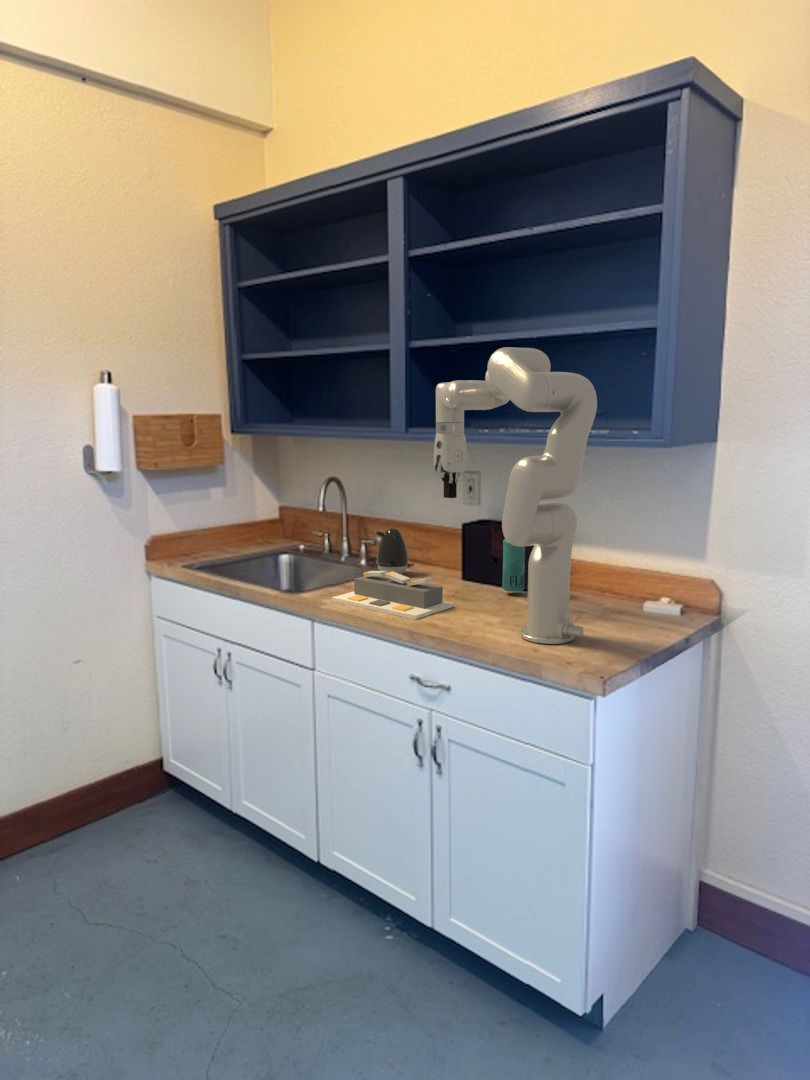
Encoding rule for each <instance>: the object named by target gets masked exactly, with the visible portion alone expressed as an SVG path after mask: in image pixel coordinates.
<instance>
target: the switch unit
mask: <svg viewBox="0 0 810 1080" xmlns="http://www.w3.org/2000/svg"><path fill="white" fill-rule="evenodd" d="M411 581H412V580H410V582H411ZM353 583H354V589H353V590H354V591H351V592H350V591H349V592H347V593H343V594H339V595H335V596H332V597H331V602H336V603H339V604H344V605H348V606H349V605H350V606H354V607H358V608H363V609H366V610H372V611H375V612H380V613H385V614H390V615H392V616H393V615H394V616H398V617H403V618H407V619H412V620H418V619H421V618H424V617H427V616H429V615H430V616H431V615H433V614H436V613H439V612H442V611H445V610H448V609H451V608H453V607H454V602H448V601H445V600H443V597H444V596H443V595H444V594H443V591H444V590H443V586H441V585H437V584H431V583H422V584H417V585H412V586H408V585H407V583H403V584H401V583H399V582H396V581H394V580H392V579H389V578H386V577H385V575H384V576H364V575H363V576H360V577H356V578H355V577H354V581H353Z"/></svg>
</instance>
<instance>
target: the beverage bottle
mask: <svg viewBox="0 0 810 1080" xmlns="http://www.w3.org/2000/svg"><path fill="white" fill-rule="evenodd" d="M502 551H503V552H502V579H501V580H502V586H501V587H502V590H503V591H505V592H513V593H516V592H517V593H518V592H523V591H524V589H525V584H526V583H525V582H526V581H525V580H526V576H525V573H526V568H525V567H526V566H525V565H526V563H525V562H526V546H524V547H518V546H513V545H511V544H510V543H508V542H507V540H506V539H505V538H504V539H503V541H502Z"/></svg>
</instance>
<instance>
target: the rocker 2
mask: <svg viewBox="0 0 810 1080" xmlns="http://www.w3.org/2000/svg"><path fill="white" fill-rule="evenodd" d="M410 581H411V582H407V585H408V586H412V585H417V584H422V583H426V584H428V583H430V582H434V578H433V576H430V577H425V578H420V579H415V580H410Z"/></svg>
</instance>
